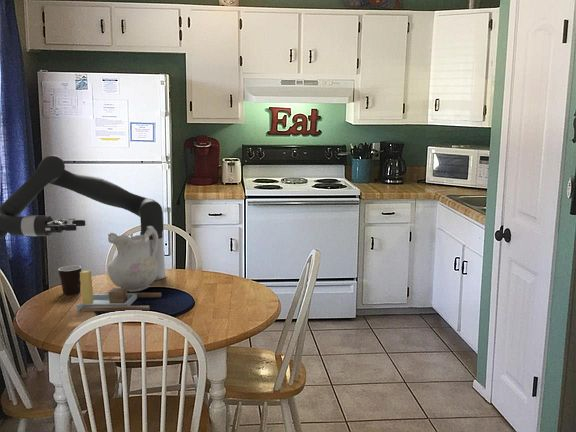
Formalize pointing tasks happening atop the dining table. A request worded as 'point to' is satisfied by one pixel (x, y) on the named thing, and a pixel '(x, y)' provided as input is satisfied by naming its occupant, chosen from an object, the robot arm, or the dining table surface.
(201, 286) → the dining table surface
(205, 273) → the dining table surface
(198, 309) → the dining table surface
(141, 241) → the ceramic pitcher
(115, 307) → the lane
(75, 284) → the coffee mug
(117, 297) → the block
